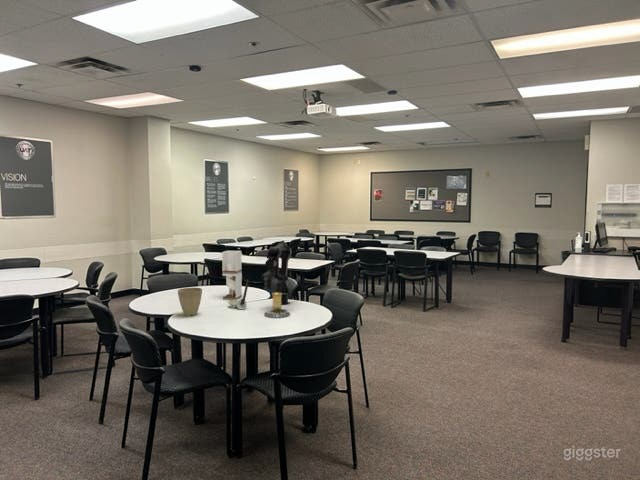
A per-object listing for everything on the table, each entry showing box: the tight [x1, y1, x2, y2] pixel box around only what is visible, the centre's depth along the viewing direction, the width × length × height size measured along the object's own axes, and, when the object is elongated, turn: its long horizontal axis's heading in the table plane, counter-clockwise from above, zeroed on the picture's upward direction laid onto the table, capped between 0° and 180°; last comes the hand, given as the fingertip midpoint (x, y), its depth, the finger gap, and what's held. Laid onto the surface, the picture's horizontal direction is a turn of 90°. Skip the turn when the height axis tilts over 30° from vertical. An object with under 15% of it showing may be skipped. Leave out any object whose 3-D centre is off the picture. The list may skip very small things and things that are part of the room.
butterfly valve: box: [227, 279, 250, 311], centre depth 304 cm, size 9×20×17 cm
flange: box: [263, 308, 291, 319], centre depth 283 cm, size 16×16×2 cm
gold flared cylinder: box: [271, 291, 282, 313], centre depth 282 cm, size 6×6×13 cm
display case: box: [221, 250, 243, 301], centre depth 333 cm, size 11×11×35 cm
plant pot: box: [177, 287, 203, 317], centre depth 282 cm, size 15×15×16 cm
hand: (274, 290), depth 296 cm, fingers open, 9 cm apart
